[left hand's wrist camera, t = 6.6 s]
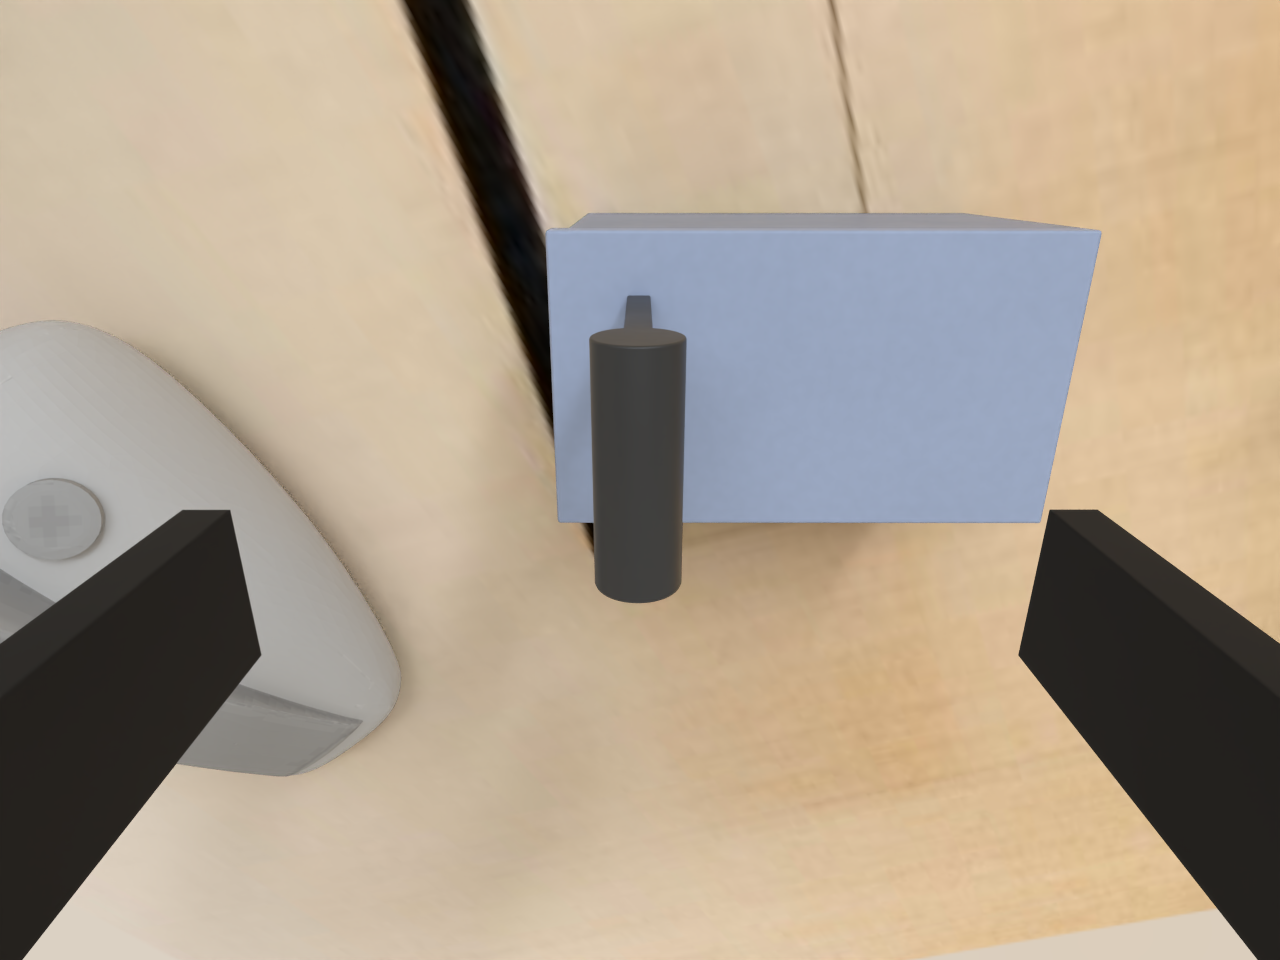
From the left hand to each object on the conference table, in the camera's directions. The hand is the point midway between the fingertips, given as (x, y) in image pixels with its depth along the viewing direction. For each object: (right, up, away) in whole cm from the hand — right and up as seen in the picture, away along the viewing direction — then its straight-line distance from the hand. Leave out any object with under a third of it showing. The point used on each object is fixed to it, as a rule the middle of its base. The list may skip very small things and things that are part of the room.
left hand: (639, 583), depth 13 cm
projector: (-21, -2, +25) cm, 33 cm away
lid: (+5, +5, +12) cm, 15 cm away
